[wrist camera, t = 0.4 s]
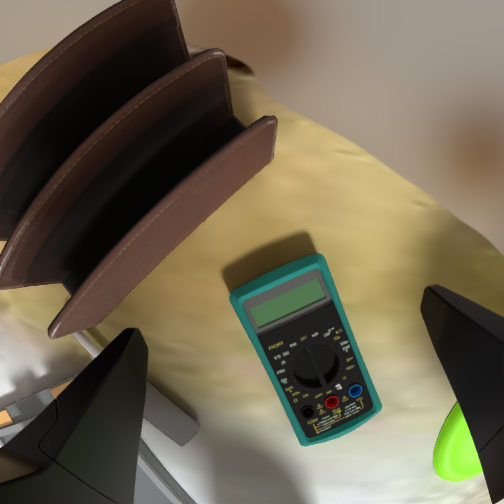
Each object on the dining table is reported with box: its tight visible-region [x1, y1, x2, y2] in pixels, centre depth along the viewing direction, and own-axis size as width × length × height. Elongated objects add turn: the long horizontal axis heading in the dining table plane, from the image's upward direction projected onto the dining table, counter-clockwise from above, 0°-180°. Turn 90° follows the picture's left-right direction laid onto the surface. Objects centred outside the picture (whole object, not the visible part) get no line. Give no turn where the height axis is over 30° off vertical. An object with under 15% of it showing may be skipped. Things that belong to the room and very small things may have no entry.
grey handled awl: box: [72, 330, 200, 446], centre depth 22 cm, size 14×3×3 cm, turn 48°
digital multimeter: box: [229, 254, 382, 446], centre depth 22 cm, size 7×15×3 cm, turn 24°
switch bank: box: [0, 372, 196, 504], centre depth 22 cm, size 19×20×2 cm
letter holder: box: [0, 0, 278, 339], centre depth 17 cm, size 10×20×14 cm, turn 133°
